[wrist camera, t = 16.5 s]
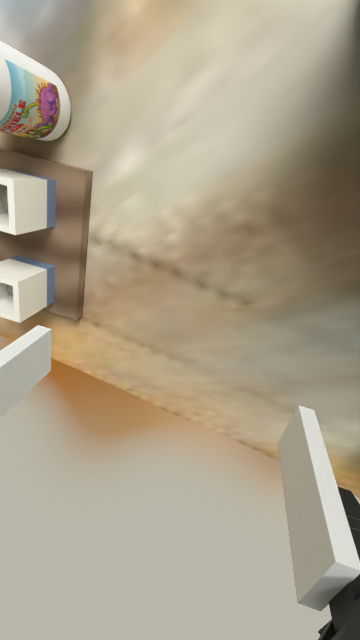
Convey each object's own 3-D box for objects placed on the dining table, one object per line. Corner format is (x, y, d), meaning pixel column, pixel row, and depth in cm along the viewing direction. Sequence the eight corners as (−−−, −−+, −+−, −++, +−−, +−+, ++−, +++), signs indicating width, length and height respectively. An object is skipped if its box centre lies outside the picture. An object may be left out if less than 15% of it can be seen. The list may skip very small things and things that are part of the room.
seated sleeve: (14, 169, 39) (-37, 166, 32) (56, 180, 39) (13, 179, 31) (16, 215, 42) (-31, 222, 35) (55, 226, 41) (15, 235, 34)
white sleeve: (20, 291, 47) (-20, 310, 40) (18, 255, 44) (-25, 269, 37) (54, 301, 47) (19, 322, 40) (55, 265, 44) (18, 281, 37)
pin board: (-2, 147, 40) (-48, 140, 34) (92, 171, 39) (63, 169, 33) (6, 292, 50) (-27, 307, 44) (82, 315, 49) (58, 334, 43)
